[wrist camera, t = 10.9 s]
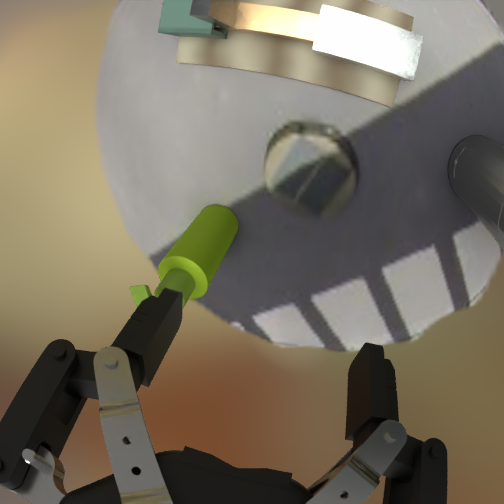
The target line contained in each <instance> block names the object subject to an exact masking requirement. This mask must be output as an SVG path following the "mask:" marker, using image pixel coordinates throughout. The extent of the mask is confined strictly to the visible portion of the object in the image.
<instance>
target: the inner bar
mask: <svg viewBox="0 0 504 504" xmlns="http://www.w3.org/2000/svg"><path fill="white" fill-rule="evenodd" d="M190 16H193V17H195V18H198V19H201V20H203V21H206V22H208V23H211V24H213V25H214V29H217V30H229V31H239V32H248V33H255V34H262V35H269V36H275V37H281V38H287V39H292V40H297V41H302V42H307V43H311V44H314V40H315V35H316V30H317V26H318V21H319V16H320V15H318V14H313V13H309V12H304V11H298V10H293V9H287V8H281V7H274V6H266V5H258V4H248V3H239V2H238V1H236V0H192V5H191V10H190Z"/></svg>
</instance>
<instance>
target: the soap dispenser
mask: <svg viewBox="0 0 504 504" xmlns="http://www.w3.org/2000/svg"><path fill="white" fill-rule="evenodd" d="M237 231H238V221H237V218H236V216H235V215H234V213H233V212H232V211H231V210H230V209H228V208H227V207H225V206H222V205H210V206H207V207H205V208H204V209H203V210H202V211H201V213H200V214H199V215H198V216H197V217H196V219H195V220H194V221H193V222H192V223H191V225H190V226H189V227H188V228H187V230H186V231H185V232H184V233H183V235H182V236H181V237H180V238H179V240H178V241H177V242H176V243H175V245H174V246H173V247H172V248H171V250H170V251H169V252H168V253H167V255H166V256H165V257H164V259H163V260H162V261H161V263H160V264H159V268H158V274H159V278H160V280H161V282H160V284H159V285H158V287H157V288H156V290H155V297H159V295H160V294H161V292H162V291H163V289H164V288H166V287H167V288H170V289H173V290H176V291H179V292H182V294H183V304H182V309H183V308H184V306H185V305H186V302H187V301H188V299H197V298H200V297H201V296H203V295H204V294H205V292H206V291H207V289H208V287H209V285H210V283H211V281H212V279H213V277H214V275H215V273H216V271H217V270H218V268H219V266H220V264H221V262H222V260H223V258H224V256H225V254H226V252H227V250H228V249H229V247H230V245H231V243H232V241H233V239H234V237H235V235H236V233H237ZM130 290H131V293H132V296H133V298H134V301H135V303H136V305H137V307H138V306H139V304H140V303H141V301H143V300H144V299H146V298H148V297H149V296H151V295H152V294H151V292H150V289H149V287H148V286H147V285H139V286H131V287H130Z"/></svg>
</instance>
